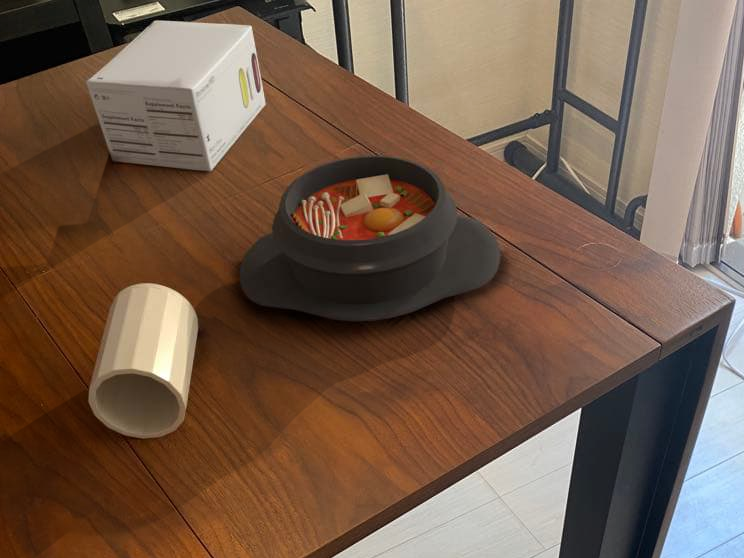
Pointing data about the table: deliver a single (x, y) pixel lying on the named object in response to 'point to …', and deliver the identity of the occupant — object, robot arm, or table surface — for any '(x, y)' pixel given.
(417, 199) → the casserole
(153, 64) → the supplement box
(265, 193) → the table surface
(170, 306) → the cup
